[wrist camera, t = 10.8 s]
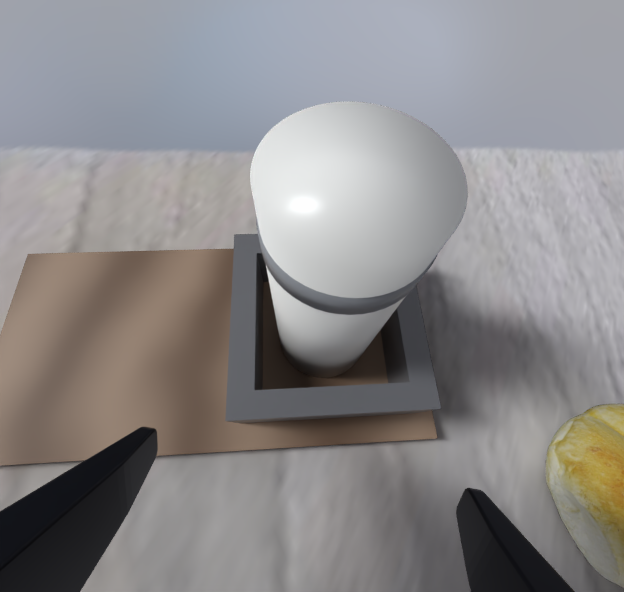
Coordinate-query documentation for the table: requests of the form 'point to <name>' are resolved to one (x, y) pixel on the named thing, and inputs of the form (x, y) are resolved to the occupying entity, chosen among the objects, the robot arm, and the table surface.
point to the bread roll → (592, 485)
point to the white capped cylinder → (349, 223)
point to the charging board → (152, 362)
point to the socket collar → (332, 399)
